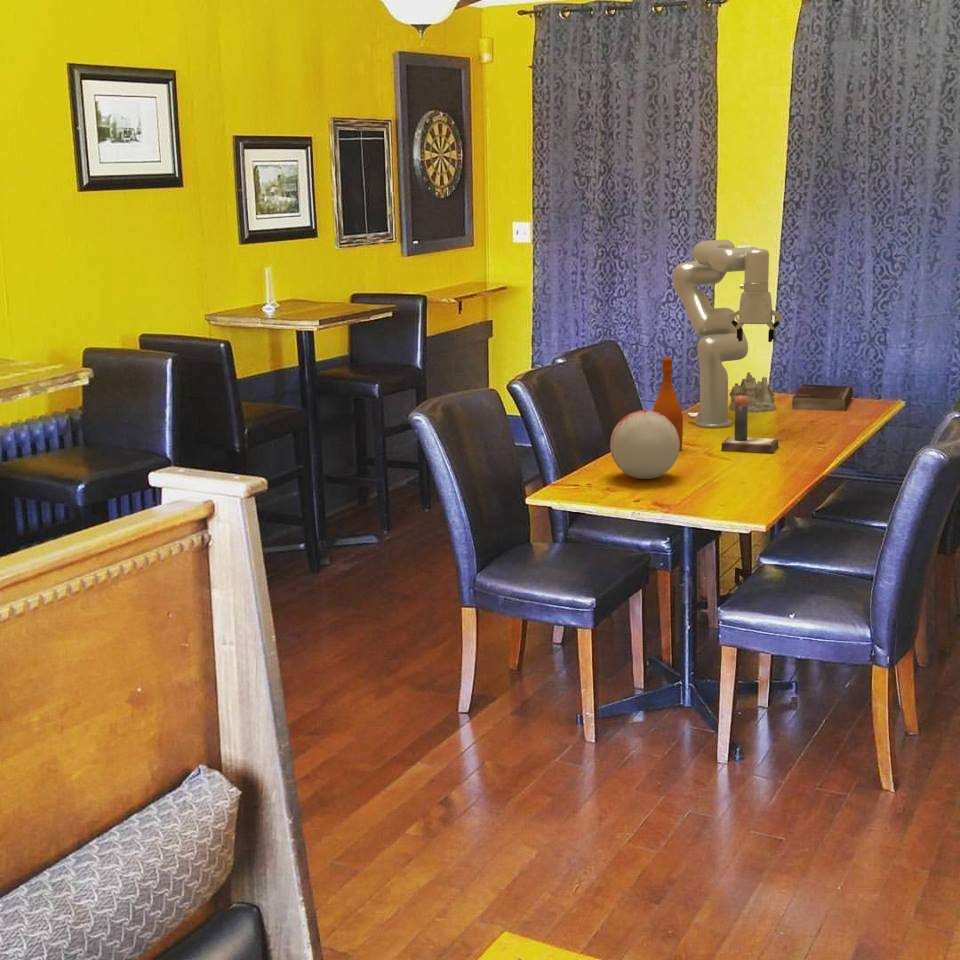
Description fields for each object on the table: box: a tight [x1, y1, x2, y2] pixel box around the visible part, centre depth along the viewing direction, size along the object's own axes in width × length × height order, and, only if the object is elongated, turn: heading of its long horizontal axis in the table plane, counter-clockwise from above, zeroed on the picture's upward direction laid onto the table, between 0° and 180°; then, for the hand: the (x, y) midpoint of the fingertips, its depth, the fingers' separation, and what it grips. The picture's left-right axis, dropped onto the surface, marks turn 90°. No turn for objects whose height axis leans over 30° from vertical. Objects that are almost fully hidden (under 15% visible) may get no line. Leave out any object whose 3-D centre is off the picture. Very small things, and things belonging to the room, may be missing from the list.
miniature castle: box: [728, 371, 777, 414], centre depth 456 cm, size 16×16×15 cm
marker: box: [733, 395, 749, 441], centre depth 390 cm, size 4×4×14 cm
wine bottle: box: [652, 356, 684, 451], centre depth 390 cm, size 10×10×30 cm
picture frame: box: [721, 436, 779, 455], centre depth 390 cm, size 16×10×3 cm, turn 66°
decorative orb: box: [609, 409, 681, 480], centre depth 355 cm, size 21×20×20 cm
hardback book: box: [791, 383, 854, 412], centre depth 462 cm, size 29×19×5 cm, turn 158°
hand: (755, 341), depth 397 cm, fingers open, 9 cm apart
